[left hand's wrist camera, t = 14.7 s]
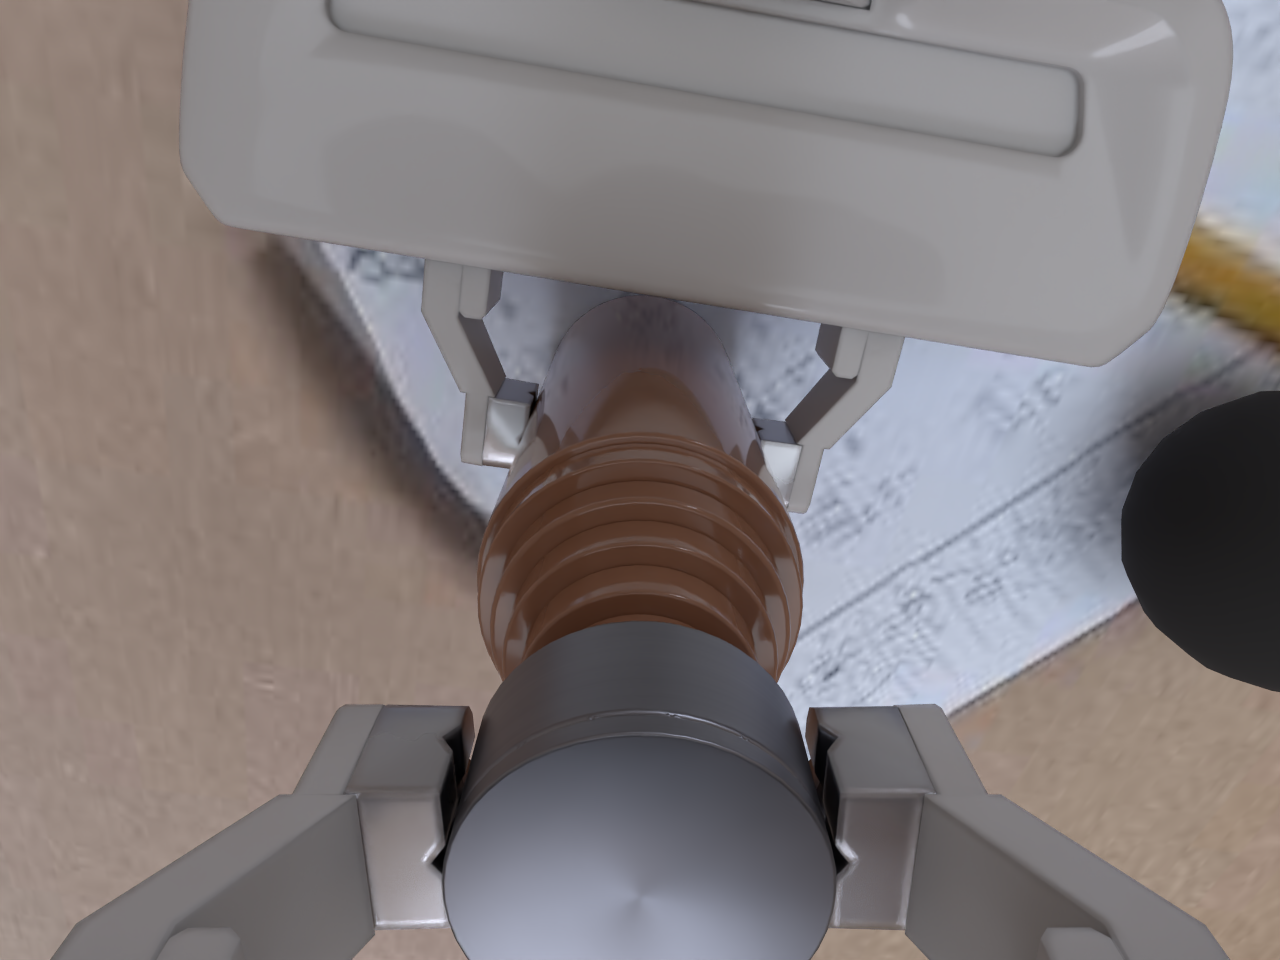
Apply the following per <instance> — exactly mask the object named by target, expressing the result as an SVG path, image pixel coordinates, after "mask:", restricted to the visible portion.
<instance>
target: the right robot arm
mask: <svg viewBox="0 0 1280 960" xmlns="http://www.w3.org/2000/svg"><path fill="white" fill-rule="evenodd" d="M1232 66H1233V41H1232V31H1231V26H1230V22H1229V17H1228V14H1227V11H1226V9H1225V6H1224V4H1223V2H1222V0H189V3H188V12H187V22H186V31H185V41H184V50H183V63H182V78H181V94H180V118H179V153H180V161H181V165H182V168H183V171H184V173H185V175H186V176H187V178H188V179H189V181H190V182H191V184H192V185H193V187H194V188H195V190H196V191H197V193H198V194H199V196H200V197H201V199H202V200H203V202H204V203H205V205H206V206H207V207H208V209H209V210H210V211H211V213H212V214H213V215H214V217H215V218H216V219H217V220H218V221H219V222H221V223H222V224H224V225H227V226H230V227H235V228H241V229H246V230H252V231H258V232H265V233H271V234H277V235H283V236H289V237H295V238H301V239H308V240H314V241H320V242H326V243H332V244H338V245H344V246H350V247H357V248H363V249H369V250H375V251H381V252H387V253H393V254H399V255H406V256H412V257H418V258H424V259H425V266H424V280H423V293H422V307H421V312H422V314H423V316H424V318H425V320H426V322H427V324H428V326H429V328H430V330H431V332H432V334H433V337H434V339H435V341H436V343H437V345H438V347H439V349H440V351H441V353H442V355H443V357H444V359H445V361H446V363H447V365H448V367H449V369H450V371H451V374H452V376H453V378H454V380H455V382H456V384H457V386H458V388H459V390H460V392H463V393H466V400H465V411H464V422H463V432H462V443H461V461H462V462H464V463H469V464H474V465H480V466H482V465H486V466H493V467H501V468H508V469H510V467H511V464H512V462H513V459H514V457H515V454H516V452H517V449H518V447H519V444H520V441H521V439H522V436H523V434H524V431H525V429H526V426H527V424H528V421H529V419H530V416H531V414H532V411H533V409H534V406H535V403H536V401H537V395H538V386H539V384H536V383H530V382H525V381H519V380H514V379H508V378H506V375H505V373H504V370H503V368H502V366H501V363H500V361H499V358H498V356H497V354H496V351H495V349H494V346H493V344H492V342H491V339H490V337H489V335H488V332H487V330H486V327H485V325H484V323H483V320H482V318H483V317H484V316H485V315H486V314H487V313H488V312H489V311H490V310H491V309H492V308H493V307H494V305H495V304H496V303H497V302H498V301H499V300H500V296H501V287H502V278H503V271H504V272H510V273H516V274H522V275H528V276H534V277H540V278H547V279H553V280H559V281H565V282H571V283H577V284H583V285H589V286H596V287H602V288H608V289H614V290H620V291H626V292H632V293H638V294H645V295H651V296H657V297H663V298H669V299H675V300H681V301H687V302H694V303H700V304H706V305H712V306H718V307H724V308H730V309H737V310H743V311H749V312H755V313H761V314H767V315H773V316H779V317H786V318H792V319H798V320H804V321H810V322H816V323H821V325H820V329H819V334H818V339H817V343H816V348H815V350H816V352H817V354H818V355H819V356H820V358H821V359H822V360H823V361H824V362H825V364H826V365H827V366H828V367H829V370H828V371H827V372H826V373H825V375H824V376H823V377H822V378H821V379H820V380H819V381H818V383H817V384H816V385H815V386H814V387H813V388H812V389H811V391H810V392H809V393H808V394H807V395H806V396H805V397H804V399H803V400H802V401H801V402H800V403H799V404H798V405H797V407H796V408H795V409H794V410H793V411H792V412H791V413H790V415H789V416H788V417H787V418H786V419H785V421H786V422H783V421H775V420H768V419H760V418H752V420H753V423H754V426H755V428H756V431H757V433H758V436H759V439H760V441H761V444H762V446H763V449H764V451H765V454H766V457H767V459H768V462H769V464H770V467H771V469H772V472H773V475H774V477H775V480H776V482H777V485H778V488H779V490H780V493H781V495H782V498H783V500H784V503H785V506H786V508H787V511H788V512H794V513H800V514H804V513H806V512H807V510H808V507H809V505H810V502H811V498H812V494H813V490H814V486H815V482H816V478H817V474H818V470H819V466H820V462H821V458H822V454H823V450H824V449H830V448H831V447H832V446H833V445H834V444H835V443H836V442H837V441H838V440H839V439H840V438H841V437H842V436H843V435H844V434H845V433H846V432H847V431H848V430H849V429H850V428H851V427H852V426H853V425H854V424H855V423H856V422H857V421H858V420H859V419H860V418H861V417H862V416H863V415H864V414H865V413H866V412H867V411H868V410H869V409H870V408H871V407H872V406H873V405H874V404H875V403H876V402H877V401H878V400H879V399H880V398H881V397H882V396H883V395H884V394H885V393H886V392H887V391H888V390H889V389H890V388H891V386H892V382H893V379H894V375H895V371H896V368H897V364H898V361H899V357H900V353H901V350H902V346H903V342H904V339H905V337H908V338H914V339H920V340H927V341H933V342H939V343H945V344H951V345H957V346H963V347H969V348H976V349H982V350H988V351H994V352H1000V353H1006V354H1012V355H1018V356H1025V357H1031V358H1037V359H1043V360H1049V361H1055V362H1061V363H1068V364H1074V365H1080V366H1086V367H1099V366H1102V365H1105V364H1106V363H1108V362H1109V361H1111V360H1112V359H1114V358H1115V357H1117V356H1118V355H1119V354H1121V353H1122V352H1123V351H1124V350H1126V349H1127V348H1128V347H1130V346H1131V345H1132V344H1133V343H1135V342H1136V341H1137V340H1138V339H1139V338H1141V337H1142V336H1143V335H1144V334H1145V333H1147V332H1148V331H1149V330H1150V329H1151V328H1152V327H1153V325H1154V324H1155V323H1156V321H1157V319H1158V317H1159V316H1160V314H1161V312H1162V310H1163V308H1164V306H1165V304H1166V301H1167V299H1168V296H1169V294H1170V291H1171V289H1172V286H1173V284H1174V281H1175V279H1176V276H1177V273H1178V270H1179V267H1180V264H1181V262H1182V259H1183V256H1184V253H1185V250H1186V247H1187V244H1188V241H1189V238H1190V235H1191V232H1192V229H1193V226H1194V223H1195V220H1196V217H1197V213H1198V210H1199V207H1200V204H1201V201H1202V197H1203V194H1204V190H1205V187H1206V183H1207V180H1208V176H1209V173H1210V169H1211V166H1212V162H1213V159H1214V155H1215V151H1216V147H1217V143H1218V139H1219V135H1220V131H1221V127H1222V123H1223V119H1224V114H1225V110H1226V106H1227V101H1228V96H1229V90H1230V84H1231V78H1232Z"/></svg>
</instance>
